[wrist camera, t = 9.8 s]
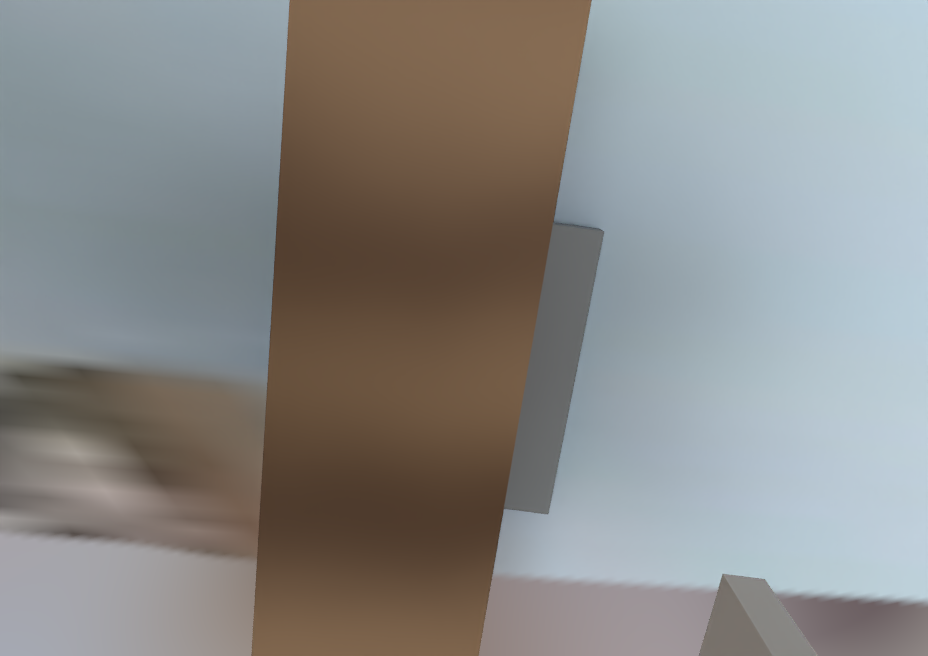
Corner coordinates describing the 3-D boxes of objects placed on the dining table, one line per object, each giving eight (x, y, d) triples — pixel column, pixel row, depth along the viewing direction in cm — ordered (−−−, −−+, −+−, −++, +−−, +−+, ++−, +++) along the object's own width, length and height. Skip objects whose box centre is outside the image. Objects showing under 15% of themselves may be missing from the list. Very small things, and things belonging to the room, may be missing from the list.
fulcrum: (272, 465, 27) (192, 585, 19) (291, 184, 24) (204, 195, 16) (545, 501, 27) (573, 636, 20) (598, 228, 24) (657, 260, 16)
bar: (434, 792, 21) (422, 977, 16) (289, 774, 21) (234, 955, 16) (571, -56, 15) (619, -164, 10) (360, -88, 14) (302, -212, 10)
